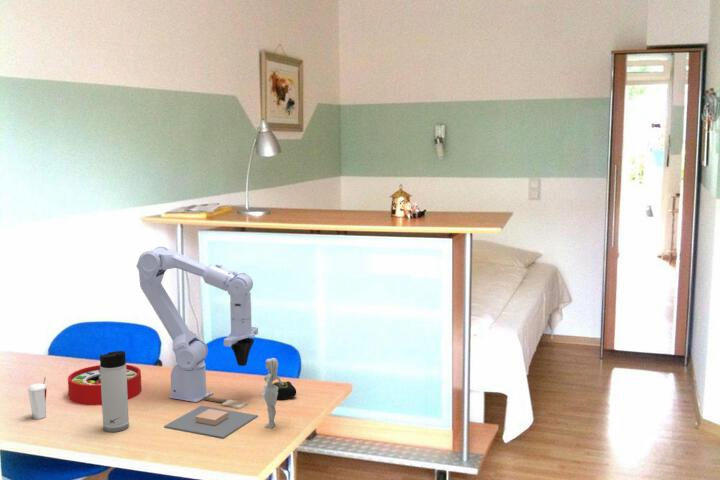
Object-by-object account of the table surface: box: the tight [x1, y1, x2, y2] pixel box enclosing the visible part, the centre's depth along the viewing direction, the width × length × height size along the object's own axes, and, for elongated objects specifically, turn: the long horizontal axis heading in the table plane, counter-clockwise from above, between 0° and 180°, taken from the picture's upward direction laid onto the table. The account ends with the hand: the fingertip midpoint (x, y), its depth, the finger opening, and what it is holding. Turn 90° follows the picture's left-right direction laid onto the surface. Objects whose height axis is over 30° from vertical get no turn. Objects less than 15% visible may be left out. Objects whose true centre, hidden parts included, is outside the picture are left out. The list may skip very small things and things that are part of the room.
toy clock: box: [67, 364, 143, 406], centre depth 218 cm, size 20×6×20 cm
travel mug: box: [99, 350, 130, 433], centre depth 191 cm, size 6×7×20 cm
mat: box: [163, 405, 259, 440], centre depth 196 cm, size 18×16×1 cm
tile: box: [195, 409, 228, 426], centre depth 196 cm, size 6×2×6 cm
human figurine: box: [259, 357, 284, 429], centre depth 191 cm, size 12×4×18 cm, turn 160°
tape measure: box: [272, 381, 297, 400], centre depth 215 cm, size 7×7×4 cm
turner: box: [202, 396, 249, 410], centre depth 210 cm, size 13×4×1 cm, turn 66°
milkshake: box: [27, 376, 48, 420], centre depth 199 cm, size 4×5×10 cm
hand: (242, 365), depth 212 cm, fingers closed
